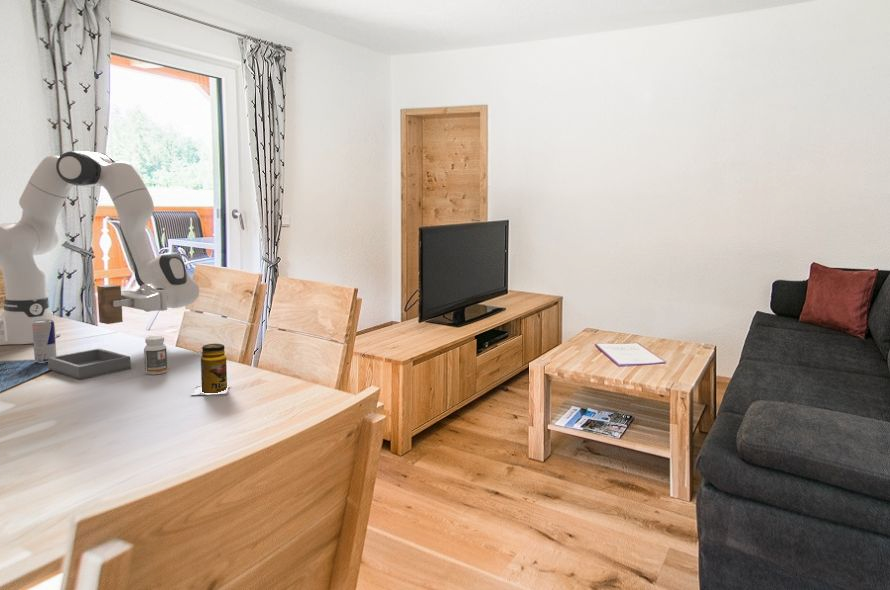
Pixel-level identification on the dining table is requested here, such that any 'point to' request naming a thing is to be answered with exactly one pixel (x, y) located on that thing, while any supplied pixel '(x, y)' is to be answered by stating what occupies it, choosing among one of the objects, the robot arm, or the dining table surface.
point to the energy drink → (44, 340)
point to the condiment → (213, 368)
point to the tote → (89, 363)
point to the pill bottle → (155, 355)
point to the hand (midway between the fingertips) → (106, 302)
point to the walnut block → (109, 304)
